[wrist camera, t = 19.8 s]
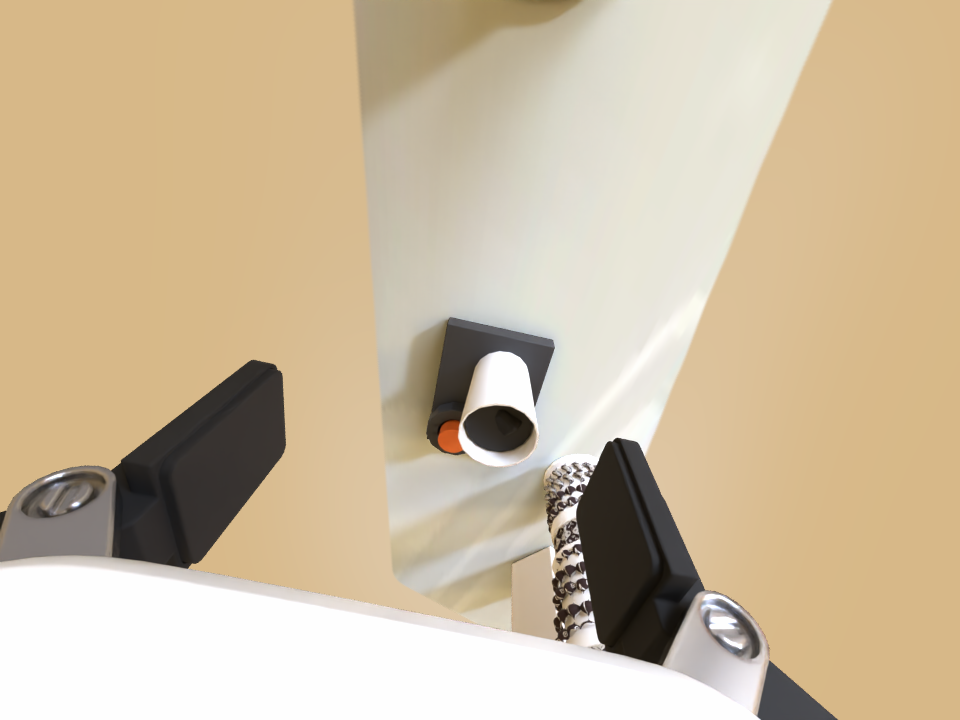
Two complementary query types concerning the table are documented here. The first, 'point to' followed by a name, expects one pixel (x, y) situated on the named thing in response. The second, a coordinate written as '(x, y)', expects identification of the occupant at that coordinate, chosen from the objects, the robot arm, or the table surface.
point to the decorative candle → (570, 550)
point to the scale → (464, 354)
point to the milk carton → (534, 595)
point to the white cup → (499, 412)
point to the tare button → (450, 436)
